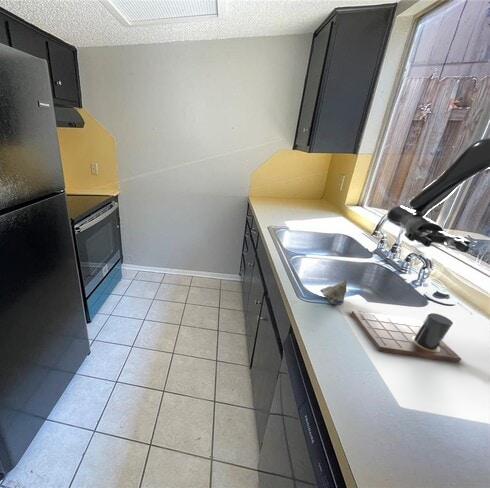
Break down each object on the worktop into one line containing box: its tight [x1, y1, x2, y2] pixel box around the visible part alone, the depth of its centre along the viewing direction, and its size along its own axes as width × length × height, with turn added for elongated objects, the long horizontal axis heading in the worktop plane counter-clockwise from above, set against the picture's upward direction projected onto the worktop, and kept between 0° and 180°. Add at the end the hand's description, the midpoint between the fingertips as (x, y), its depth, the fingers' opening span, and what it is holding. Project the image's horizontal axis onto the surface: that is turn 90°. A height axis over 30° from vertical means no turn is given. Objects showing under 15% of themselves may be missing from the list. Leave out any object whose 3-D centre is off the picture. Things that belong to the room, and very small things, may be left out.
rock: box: [319, 279, 348, 305], centre depth 92 cm, size 11×6×10 cm
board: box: [350, 310, 462, 364], centre depth 78 cm, size 20×16×2 cm
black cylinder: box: [414, 312, 453, 350], centre depth 72 cm, size 5×5×9 cm
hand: (447, 246), depth 77 cm, fingers open, 8 cm apart
